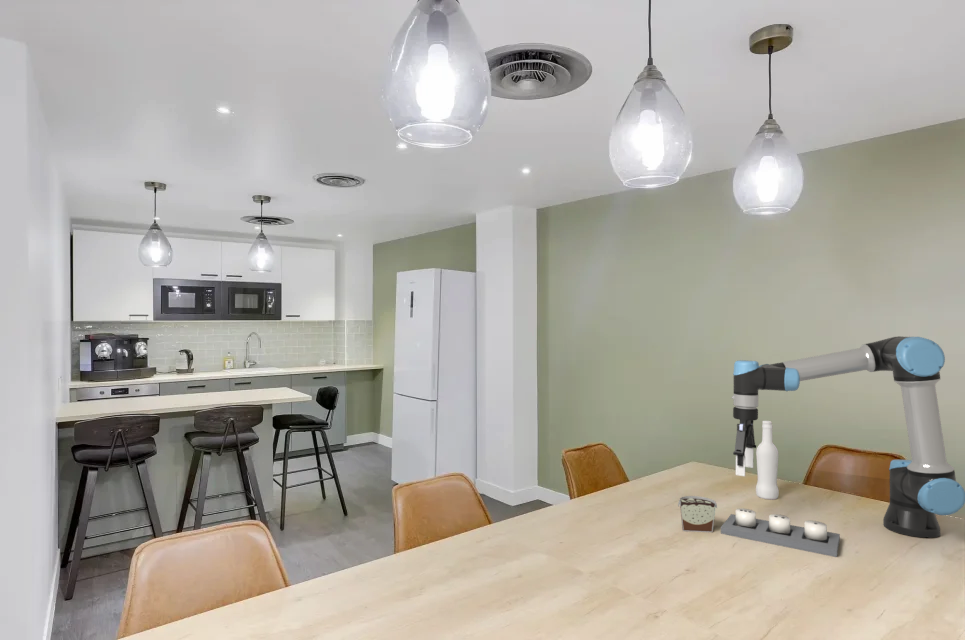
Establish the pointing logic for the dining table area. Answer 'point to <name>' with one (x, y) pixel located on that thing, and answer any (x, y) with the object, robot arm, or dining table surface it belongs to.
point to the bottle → (767, 464)
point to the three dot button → (745, 517)
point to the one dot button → (815, 530)
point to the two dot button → (779, 523)
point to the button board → (782, 536)
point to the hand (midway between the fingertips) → (744, 471)
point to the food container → (697, 513)
